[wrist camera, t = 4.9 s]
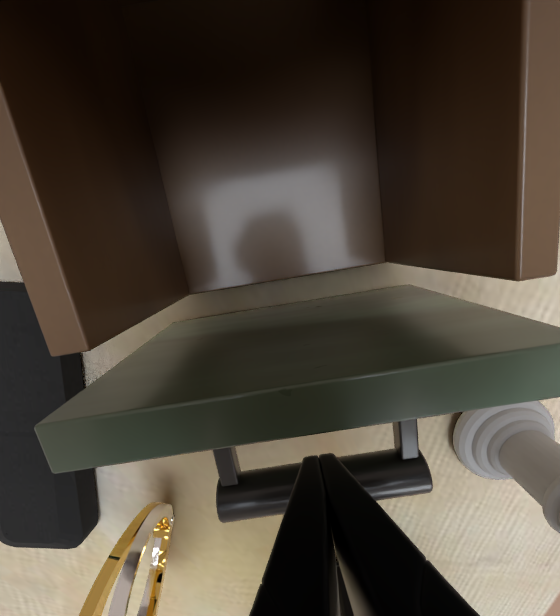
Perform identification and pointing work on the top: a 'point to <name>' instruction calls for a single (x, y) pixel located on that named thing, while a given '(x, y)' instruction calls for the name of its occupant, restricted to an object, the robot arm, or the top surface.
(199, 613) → the top surface
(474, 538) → the top surface
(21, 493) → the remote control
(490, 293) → the top surface
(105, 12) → the drawer
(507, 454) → the chess piece
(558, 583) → the top surface
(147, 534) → the ring
